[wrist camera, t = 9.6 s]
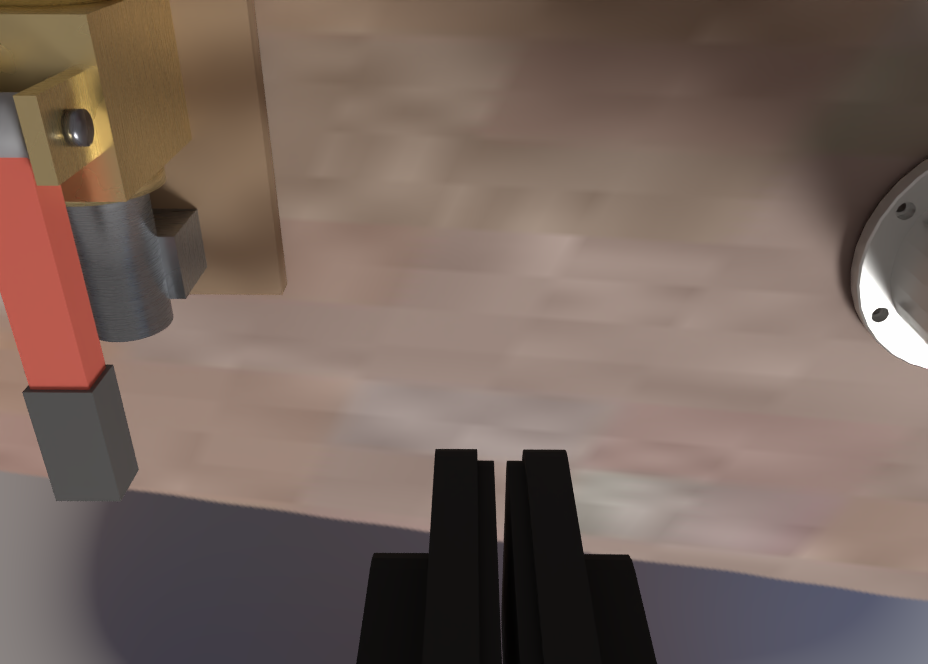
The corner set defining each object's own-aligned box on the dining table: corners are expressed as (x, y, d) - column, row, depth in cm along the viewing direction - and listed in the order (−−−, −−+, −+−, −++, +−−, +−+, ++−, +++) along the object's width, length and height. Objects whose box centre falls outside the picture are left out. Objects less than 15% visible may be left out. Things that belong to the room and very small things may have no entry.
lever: (-32, 85, 27) (-71, 101, 25) (46, 85, 27) (13, 101, 25) (78, 467, 34) (55, 502, 33) (139, 468, 34) (119, 502, 32)
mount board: (-94, -244, 30) (-114, -248, 29) (225, -244, 30) (216, -248, 29) (52, 282, 41) (41, 293, 40) (287, 284, 41) (282, 294, 40)
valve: (-22, -232, 30) (-269, -284, 20) (131, -231, 30) (-41, -284, 20) (103, 284, 40) (-19, 420, 30) (216, 285, 40) (132, 421, 30)
